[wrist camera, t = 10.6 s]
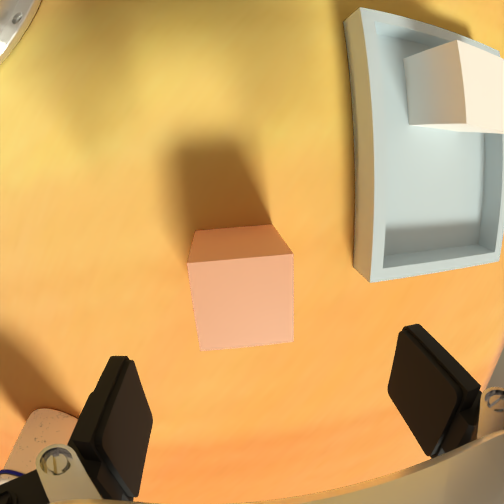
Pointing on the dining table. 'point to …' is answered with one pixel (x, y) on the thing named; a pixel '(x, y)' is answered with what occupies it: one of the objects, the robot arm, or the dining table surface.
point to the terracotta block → (241, 287)
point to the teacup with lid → (37, 440)
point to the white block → (456, 89)
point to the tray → (415, 163)
